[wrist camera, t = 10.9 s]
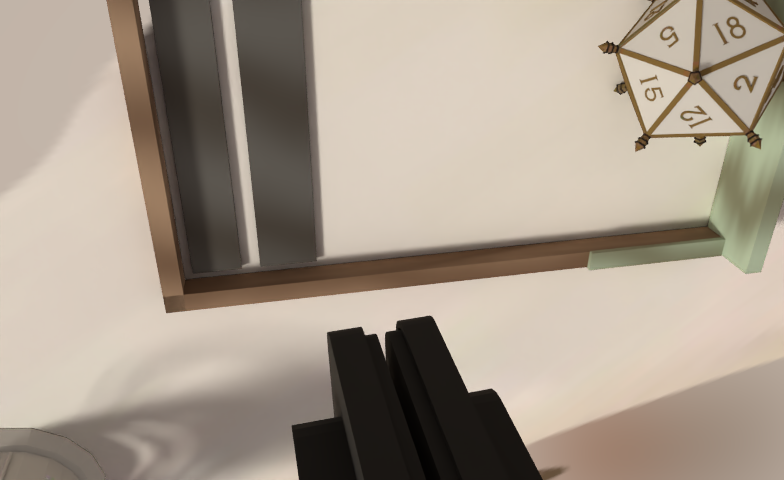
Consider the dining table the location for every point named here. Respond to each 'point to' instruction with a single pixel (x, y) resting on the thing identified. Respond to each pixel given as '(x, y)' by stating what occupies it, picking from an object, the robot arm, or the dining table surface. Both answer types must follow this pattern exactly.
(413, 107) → the dining table surface
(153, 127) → the shallow open box
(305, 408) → the dining table surface
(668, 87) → the game die
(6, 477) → the french press
